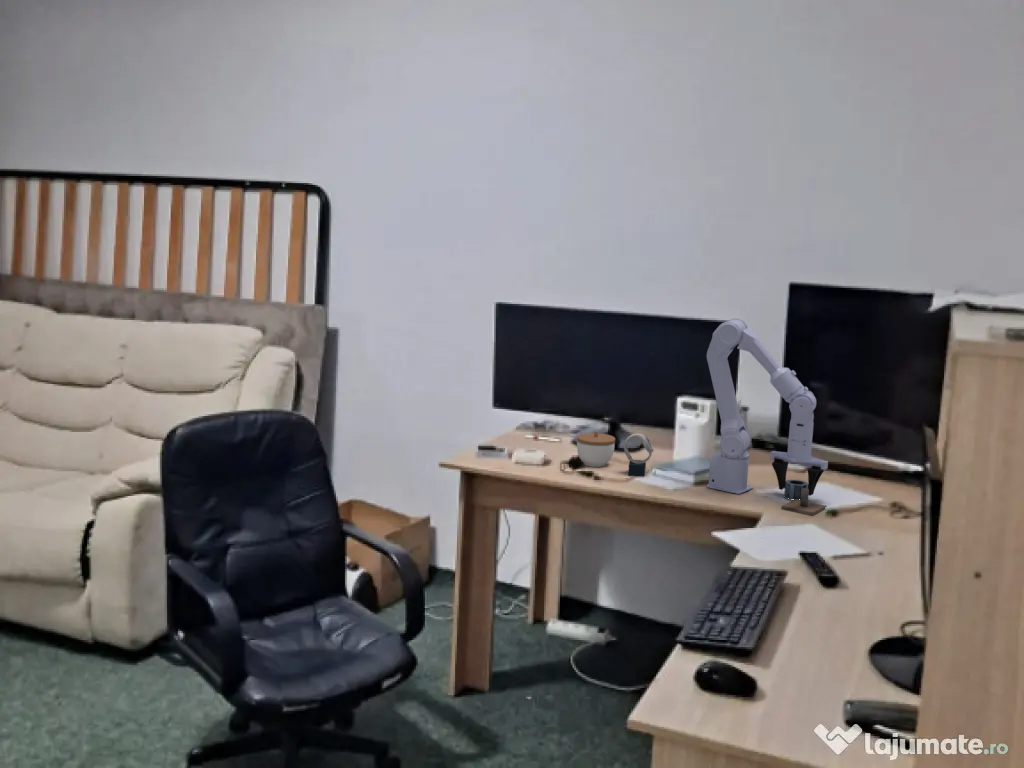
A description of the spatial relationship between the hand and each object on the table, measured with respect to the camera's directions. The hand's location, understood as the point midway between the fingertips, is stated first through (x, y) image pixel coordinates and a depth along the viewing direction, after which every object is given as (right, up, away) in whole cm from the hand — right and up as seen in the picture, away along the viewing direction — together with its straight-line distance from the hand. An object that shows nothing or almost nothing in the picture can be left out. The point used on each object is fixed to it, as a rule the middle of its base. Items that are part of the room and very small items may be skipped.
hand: (796, 491), depth 261 cm
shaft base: (-1, -3, -9) cm, 10 cm away
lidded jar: (-49, +5, +28) cm, 56 cm away
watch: (-38, +3, +19) cm, 43 cm away
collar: (0, -2, 0) cm, 2 cm away
